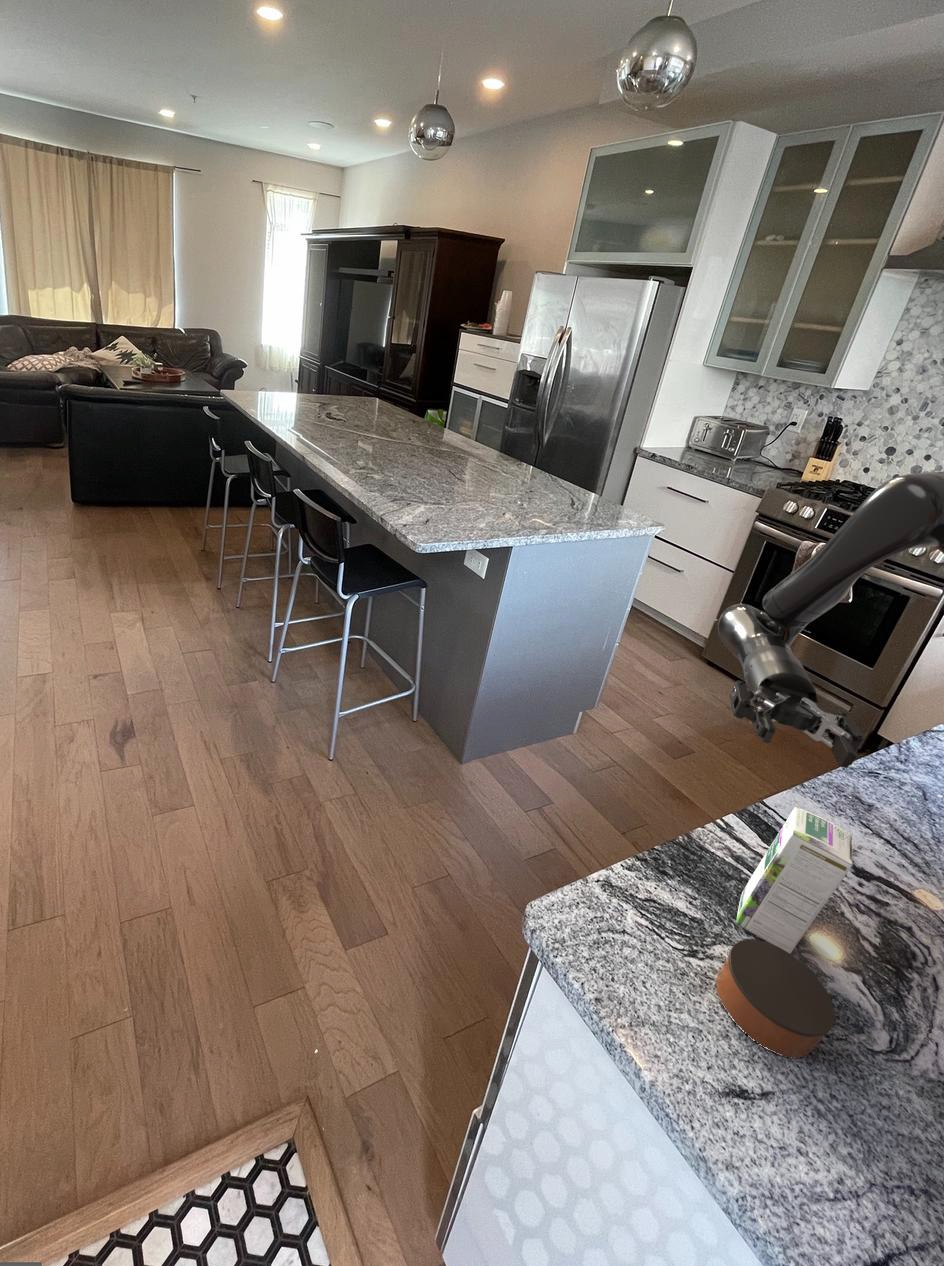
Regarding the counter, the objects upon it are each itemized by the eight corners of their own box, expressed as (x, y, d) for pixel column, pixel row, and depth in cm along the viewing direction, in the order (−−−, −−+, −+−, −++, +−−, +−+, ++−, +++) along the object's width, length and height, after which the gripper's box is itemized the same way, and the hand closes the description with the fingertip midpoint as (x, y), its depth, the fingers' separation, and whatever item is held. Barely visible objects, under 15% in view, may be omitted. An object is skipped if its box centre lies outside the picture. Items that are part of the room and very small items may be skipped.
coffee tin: (743, 949, 69) (758, 925, 67) (833, 1030, 62) (852, 1005, 60) (696, 987, 64) (711, 962, 62) (788, 1079, 57) (807, 1054, 56)
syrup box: (740, 891, 76) (792, 802, 70) (795, 922, 73) (854, 831, 67) (734, 924, 72) (789, 832, 66) (792, 958, 69) (855, 864, 63)
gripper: (733, 643, 89) (756, 704, 75) (845, 675, 86) (891, 745, 72) (713, 686, 93) (731, 752, 78) (820, 719, 89) (859, 794, 75)
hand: (807, 749), depth 75 cm, fingers open, 8 cm apart
